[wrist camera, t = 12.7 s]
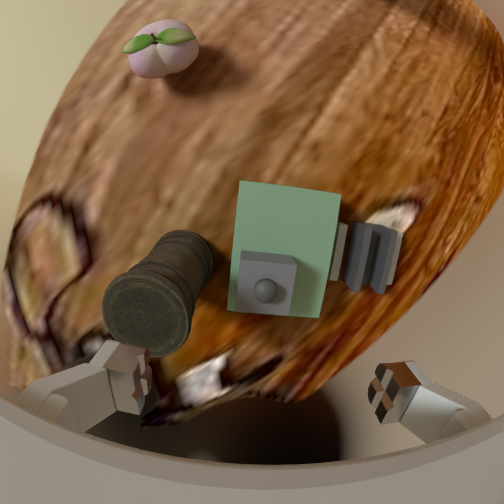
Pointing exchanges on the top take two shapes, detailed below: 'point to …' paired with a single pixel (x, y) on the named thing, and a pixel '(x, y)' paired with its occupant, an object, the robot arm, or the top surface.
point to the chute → (369, 256)
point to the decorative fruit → (162, 49)
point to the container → (159, 294)
